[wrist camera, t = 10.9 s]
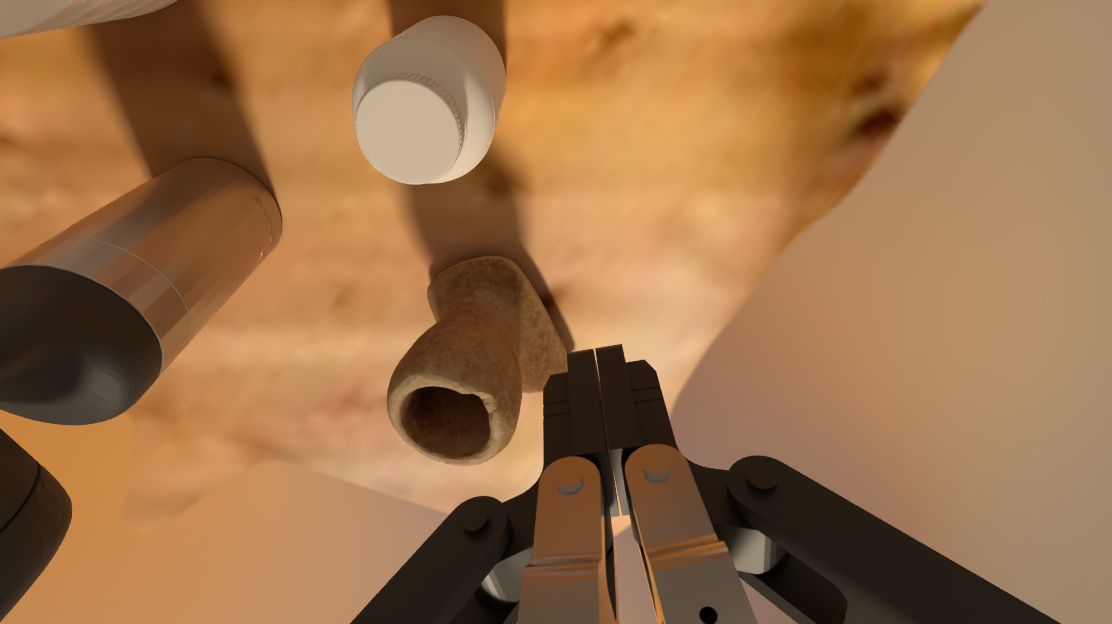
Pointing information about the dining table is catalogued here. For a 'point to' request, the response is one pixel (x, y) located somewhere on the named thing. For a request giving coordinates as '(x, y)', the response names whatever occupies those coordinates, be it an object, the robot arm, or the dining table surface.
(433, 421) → the brown boot
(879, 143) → the dining table surface
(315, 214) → the dining table surface
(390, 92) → the pill bottle
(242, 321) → the dining table surface
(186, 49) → the dining table surface
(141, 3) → the plate stack
